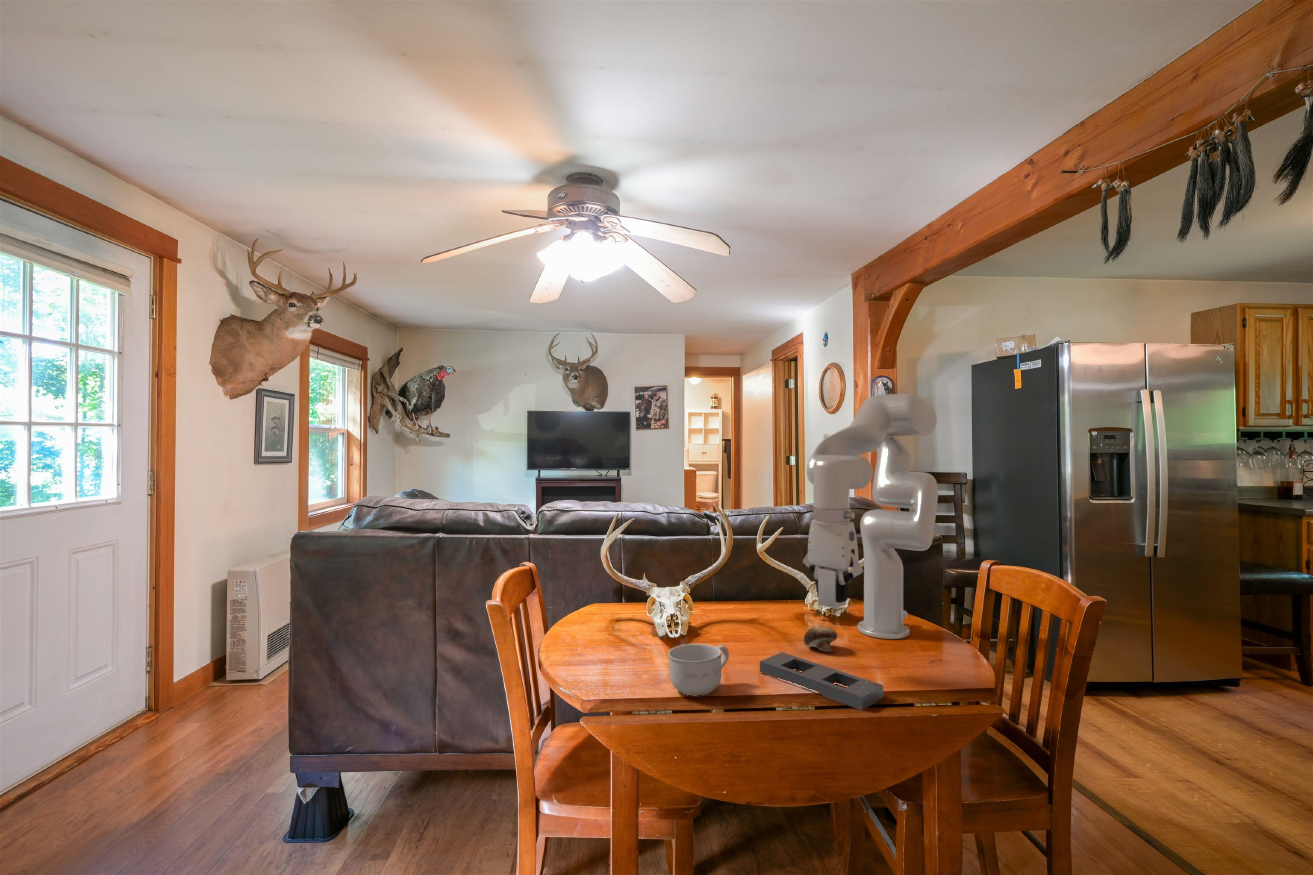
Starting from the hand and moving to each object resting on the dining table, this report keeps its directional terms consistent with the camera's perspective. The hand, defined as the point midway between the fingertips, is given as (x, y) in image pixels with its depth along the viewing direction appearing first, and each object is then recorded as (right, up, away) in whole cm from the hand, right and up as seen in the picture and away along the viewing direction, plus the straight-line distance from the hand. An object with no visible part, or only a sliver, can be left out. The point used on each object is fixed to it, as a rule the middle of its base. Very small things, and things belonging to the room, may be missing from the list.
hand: (832, 598), depth 132 cm
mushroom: (+1, -16, +13) cm, 21 cm away
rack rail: (-5, -16, -7) cm, 18 cm away
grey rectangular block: (0, -1, 0) cm, 1 cm away
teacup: (-29, -16, -9) cm, 34 cm away
